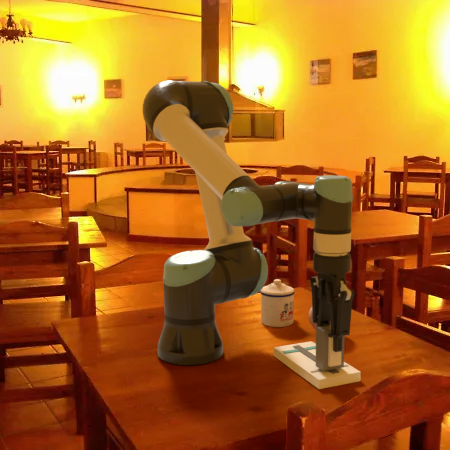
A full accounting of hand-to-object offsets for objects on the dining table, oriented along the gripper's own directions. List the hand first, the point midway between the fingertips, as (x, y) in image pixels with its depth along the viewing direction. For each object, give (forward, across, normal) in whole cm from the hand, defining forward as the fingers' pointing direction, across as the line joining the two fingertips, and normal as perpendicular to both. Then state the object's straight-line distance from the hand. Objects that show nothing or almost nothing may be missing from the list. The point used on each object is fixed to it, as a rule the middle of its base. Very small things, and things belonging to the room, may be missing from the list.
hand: (329, 361), depth 134 cm
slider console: (+4, +6, 0) cm, 7 cm away
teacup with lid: (+4, +38, -8) cm, 39 cm away
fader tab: (+1, 0, 0) cm, 1 cm away
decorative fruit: (+4, +23, -13) cm, 27 cm away
